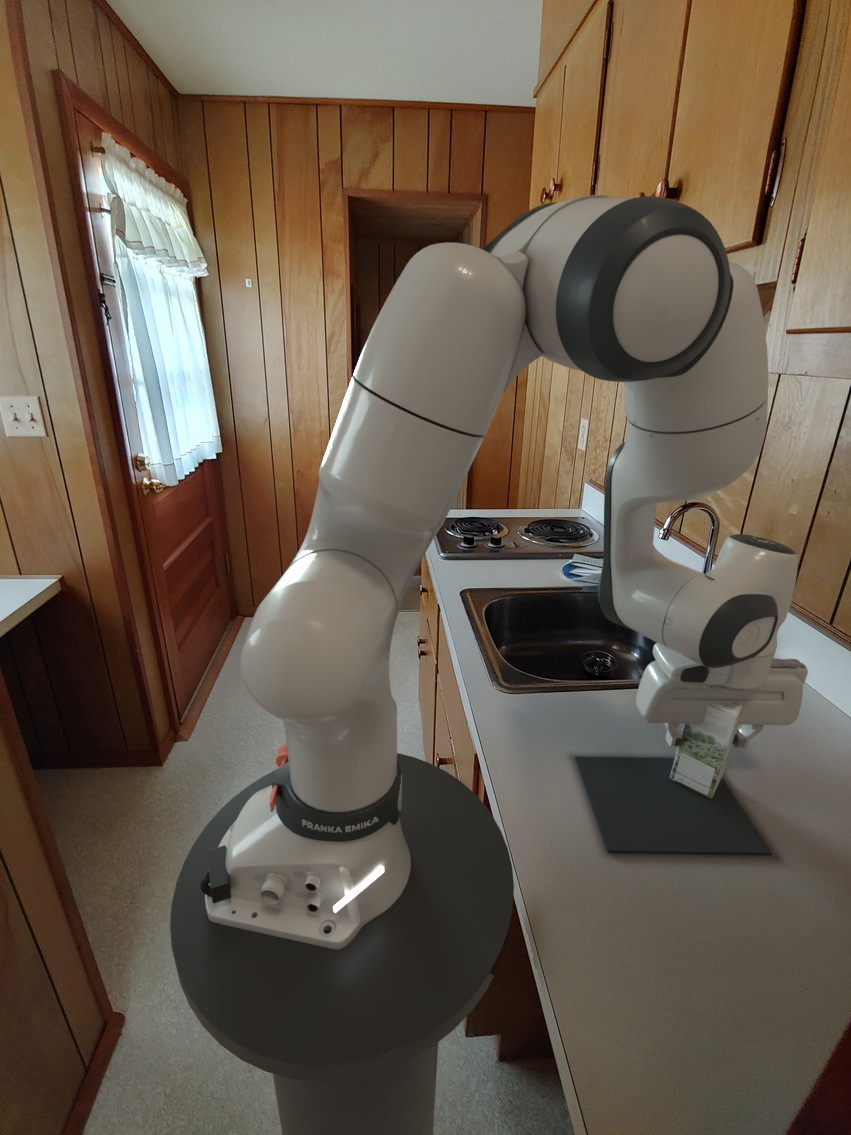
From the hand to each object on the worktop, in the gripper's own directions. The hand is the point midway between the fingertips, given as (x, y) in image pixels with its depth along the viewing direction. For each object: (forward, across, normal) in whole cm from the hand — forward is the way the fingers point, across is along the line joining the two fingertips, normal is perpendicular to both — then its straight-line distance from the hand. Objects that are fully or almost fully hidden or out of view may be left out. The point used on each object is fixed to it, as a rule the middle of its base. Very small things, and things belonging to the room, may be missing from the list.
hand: (705, 744), depth 75 cm
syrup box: (+6, 0, 0) cm, 6 cm away
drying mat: (+7, +6, +4) cm, 10 cm away
